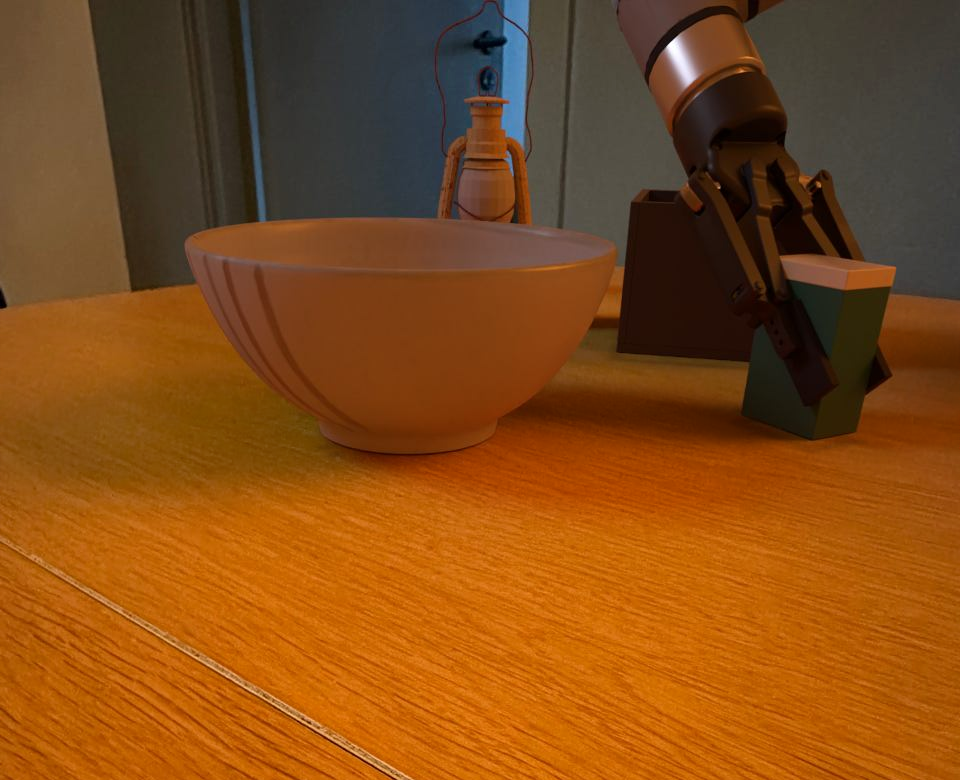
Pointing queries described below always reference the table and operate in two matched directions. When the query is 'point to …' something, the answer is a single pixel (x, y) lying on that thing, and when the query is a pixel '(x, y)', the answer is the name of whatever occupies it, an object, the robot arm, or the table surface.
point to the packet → (844, 336)
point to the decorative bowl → (402, 318)
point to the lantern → (486, 161)
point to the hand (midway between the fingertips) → (848, 390)
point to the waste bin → (675, 289)
